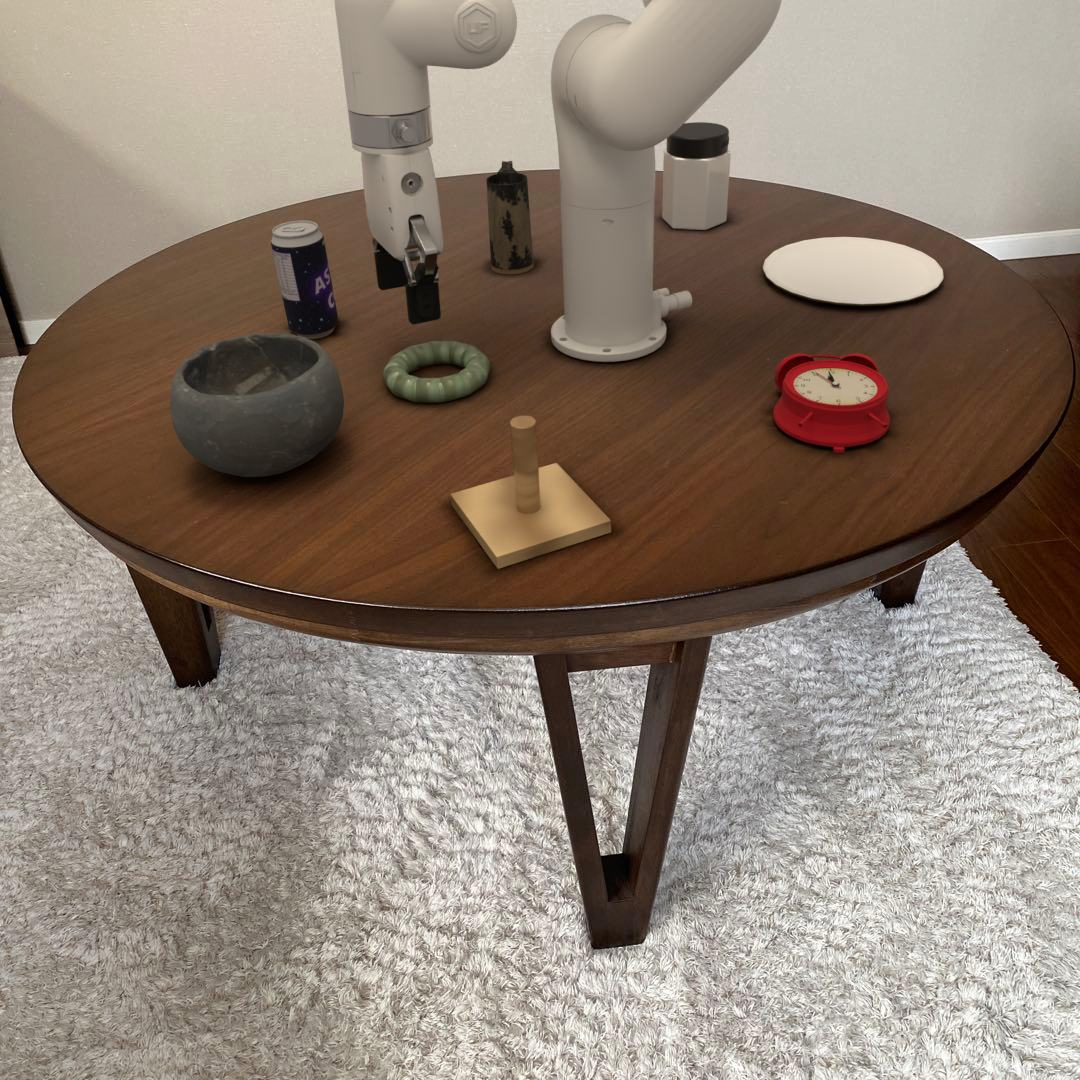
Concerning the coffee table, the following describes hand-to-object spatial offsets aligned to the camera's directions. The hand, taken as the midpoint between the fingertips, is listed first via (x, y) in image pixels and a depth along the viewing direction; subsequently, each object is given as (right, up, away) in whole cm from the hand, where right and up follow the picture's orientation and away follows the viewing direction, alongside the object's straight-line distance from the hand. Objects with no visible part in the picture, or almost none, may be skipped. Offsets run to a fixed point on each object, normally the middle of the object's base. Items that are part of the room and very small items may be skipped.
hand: (408, 303), depth 102 cm
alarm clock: (+41, -12, -8) cm, 43 cm away
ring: (+3, -7, +1) cm, 7 cm away
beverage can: (-12, 0, +13) cm, 18 cm away
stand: (+13, -22, -19) cm, 32 cm away
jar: (+35, +20, +37) cm, 54 cm away
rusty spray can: (+10, +11, +27) cm, 31 cm away
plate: (+51, +7, +18) cm, 54 cm away
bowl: (-11, -17, -10) cm, 23 cm away
